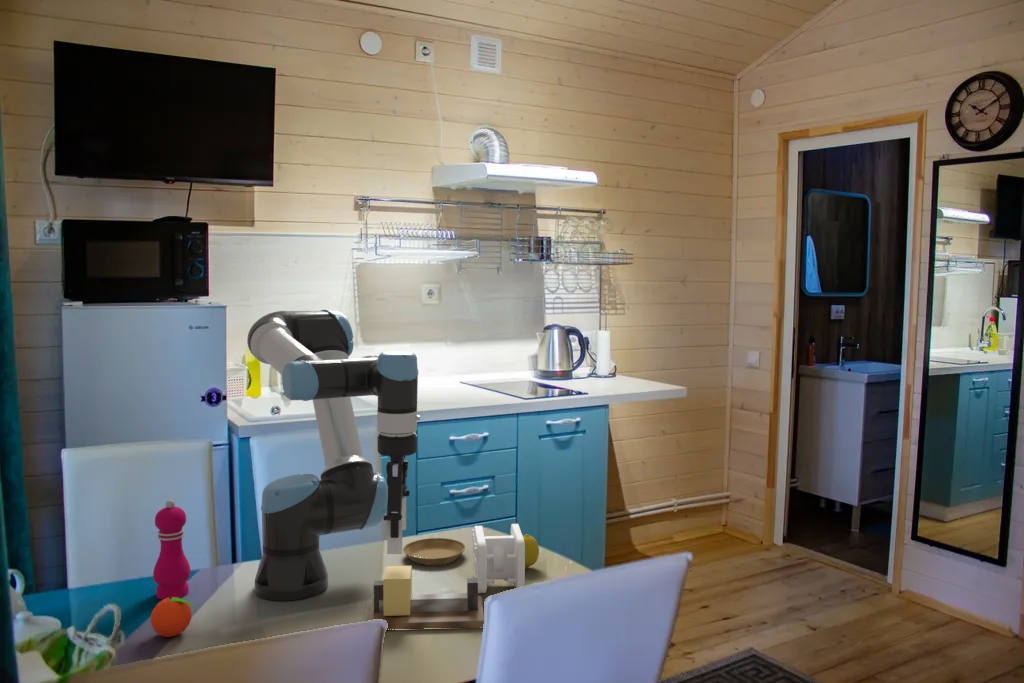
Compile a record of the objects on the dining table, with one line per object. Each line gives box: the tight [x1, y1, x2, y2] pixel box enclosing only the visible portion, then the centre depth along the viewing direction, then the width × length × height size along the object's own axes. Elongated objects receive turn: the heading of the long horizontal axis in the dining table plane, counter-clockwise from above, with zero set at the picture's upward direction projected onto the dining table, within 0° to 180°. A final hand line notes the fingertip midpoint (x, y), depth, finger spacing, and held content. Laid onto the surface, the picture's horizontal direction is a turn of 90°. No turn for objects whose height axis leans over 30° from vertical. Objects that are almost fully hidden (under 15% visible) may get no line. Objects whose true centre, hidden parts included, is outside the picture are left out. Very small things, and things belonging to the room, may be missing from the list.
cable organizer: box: [471, 523, 526, 594], centre depth 172 cm, size 15×11×12 cm
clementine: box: [150, 597, 196, 638], centre depth 146 cm, size 8×7×7 cm
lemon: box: [523, 533, 540, 570], centre depth 182 cm, size 6×6×8 cm
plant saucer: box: [402, 537, 466, 566], centre depth 189 cm, size 15×15×3 cm
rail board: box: [366, 577, 485, 630], centre depth 155 cm, size 22×12×7 cm, turn 95°
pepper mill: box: [152, 499, 192, 600], centre depth 165 cm, size 7×7×20 cm
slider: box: [382, 565, 413, 616], centre depth 154 cm, size 5×7×7 cm
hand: (397, 541), depth 154 cm, fingers open, 13 cm apart
